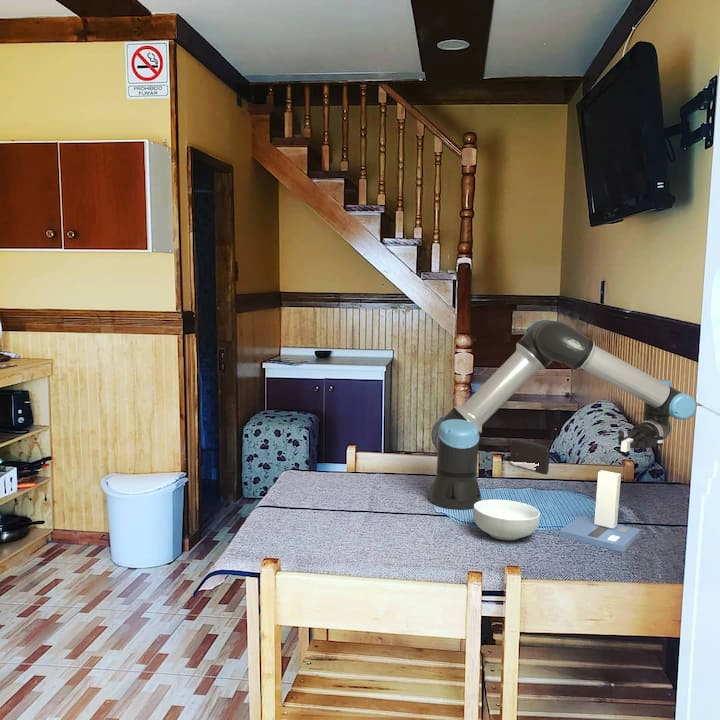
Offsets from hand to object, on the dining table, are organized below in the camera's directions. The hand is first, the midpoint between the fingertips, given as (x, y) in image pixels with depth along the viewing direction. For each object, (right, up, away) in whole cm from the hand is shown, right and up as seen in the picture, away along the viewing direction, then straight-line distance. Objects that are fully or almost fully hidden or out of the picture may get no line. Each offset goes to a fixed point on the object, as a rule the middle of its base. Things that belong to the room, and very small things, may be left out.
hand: (623, 446), depth 186 cm
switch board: (-10, -22, -10) cm, 26 cm away
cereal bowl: (-35, -21, -12) cm, 43 cm away
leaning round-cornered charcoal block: (-13, -15, +55) cm, 59 cm away
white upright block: (-7, -20, -7) cm, 22 cm away
